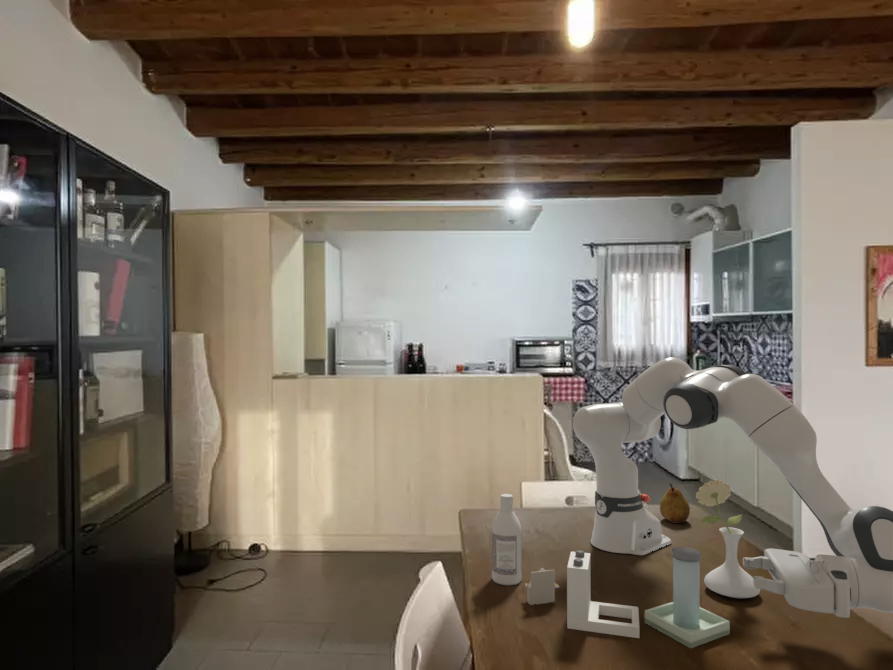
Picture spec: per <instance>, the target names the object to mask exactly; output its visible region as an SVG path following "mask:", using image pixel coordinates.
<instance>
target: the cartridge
mask: <svg viewBox="0 0 893 670" xmlns="http://www.w3.org/2000/svg"><path fill="white" fill-rule="evenodd" d="M671 556H672V586H673V587H672V591H673V593H672V600H673V601H672V602H673V622H674V623H675V624H676V625H677V626H679V627H682V628H686V629H696V628H698V627H699V626H700V607H701V606H700V605H701V604H700V601H701V600H700V599H701V598H700V591H701V590H700V586H701V585H700V560H701V552H700V551H699V550H697V549H696V548H691V547H686V546H678V547H677V546H676V547H673V548H672V549H671Z"/></svg>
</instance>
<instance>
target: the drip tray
mask: <svg viewBox="0 0 893 670" xmlns="http://www.w3.org/2000/svg"><path fill="white" fill-rule="evenodd" d="M730 622H731V621H730V620H729V619H726V618H724V617H722V616H720V615H718V614H716V613H714V612H712V611H710V610H707V609H705V608H703V607H701V606H700V626H699V627H698V628H696V629H686V628H682V627H679V626H677V625H676V624H675V623H674V622H673V601H671V602H668V603H664V604H662V605H658V606H654V607H652V608H647V609H645V610H644V624H645V625H647V624H648V625H647V626H649V625H650V627H651V626H652V627H651V628H653V629H655V630H656V629H657V631H659V632H660V633H662V634H664V635H665V636H667V637H669V638H671V639H673V640H674V641H676V642H678V643H680V644H682V645H684V646H686V647H687V648H688V649H693V648H696V647H699V646H701V645H704V644H707V643H709V642H712V641H714V640H718V639H721V638H723V637H725V636H729V635H730V633H731V632H730V631H731V630H730V629H731V623H730Z"/></svg>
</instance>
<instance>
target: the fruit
mask: <svg viewBox="0 0 893 670" xmlns="http://www.w3.org/2000/svg"><path fill="white" fill-rule="evenodd" d="M668 485H669V486H670V488H668V489H667V490H666V492H665V493H664V495H663V497H662V498H661V501H660V504H659V511H660V514H661V515H662V517H663V518H664V519H666V520H667V521H669V522H671V523H674V524H684V523H685V522H686V521H687V520H688V518H689V516H690V513H691V508H690V505H689V501H687V499H686V497H685V495H684V494H683V493H682V491H681V490H680V489H678V488H676V487H673V485H672V483H669V484H668Z"/></svg>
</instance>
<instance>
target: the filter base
mask: <svg viewBox="0 0 893 670" xmlns="http://www.w3.org/2000/svg"><path fill="white" fill-rule="evenodd" d="M591 581H592V580H591V553H590V552H585V551H584V550H580V549H579V550H576V551H570V554H569V558H568V562H567V566H566V603H567V604H566V609H567V610H566V612H567V613H566V616H567V617H566V623H567V625H566V626H567V630H568V629H569V630H577V631H583V632H591V633H598V634H605V635H612V636H613V635H614V636H620V637H626V638H634V639H635V638H636V639H640V615H639V613H640V612H639V611H640V610H639V606H634V605H633V606H632V605H625V604H624V605H623V604H617V603H609V602H608V603H607V602H601V601H594V600H593V601H592V600H591V598H592V597H591V594H592V593H591ZM600 616H608V617H616V618H623V619H629V620H631V623H630V622H621V621H616V620H615V621H614V620H608V619H606V620H605V619H600Z"/></svg>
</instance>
